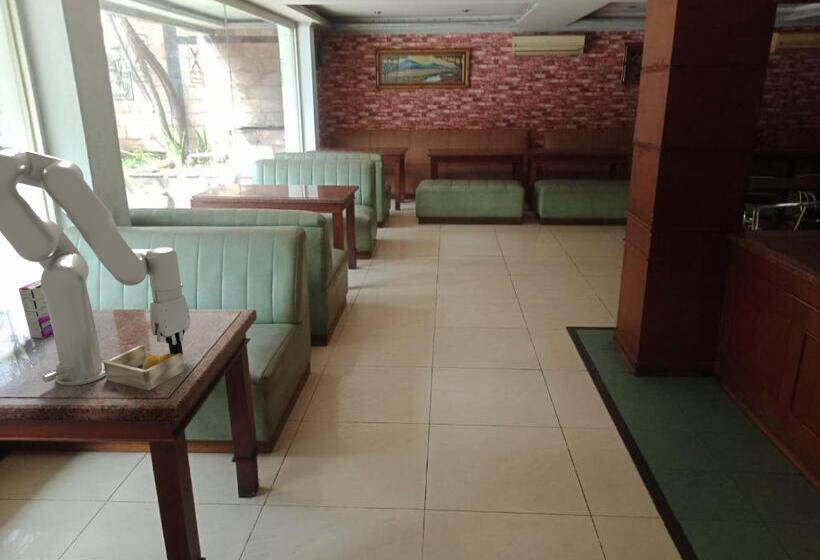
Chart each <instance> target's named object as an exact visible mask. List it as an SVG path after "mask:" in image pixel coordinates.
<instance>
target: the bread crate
mask: <svg viewBox="0 0 820 560" xmlns="http://www.w3.org/2000/svg"><path fill="white" fill-rule="evenodd" d="M146 358H147V356H146V350H145V345H143V344H140V345H138V346H136V347H134V348H131V349H130V350H129V349H128V350H127V351H124V352H123V353H121V354H119V355H116V356H114V357H112V358H110V359H108V360H105V361H102V362H103V363H104V368H105V374H106V375H105V378H106V381H110V382H113V383H117V384H121V385H126V386H130V387H134V388H137V389H140V390H141V389H142V390H146V391H150V390H152V389H154V388H156V387H158V386H160V385H162V384H163V383H165V382H167V381H168V380H171V379H172V378H174V377H175V376H178V375H181V374H182V373H183V372H185V370H186V369H185V364H184V357H183V355H182V353H178V354H176V355H174V356H173V357H171V358H169V359H167V360H165V361H163V362H161V363H159V364H157V365H155V366H153V367H151V368H149V369H147V370H144V369H143V368H138V367H139V366H143V364H144V361H145V360H146Z"/></svg>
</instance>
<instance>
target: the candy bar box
mask: <svg viewBox="0 0 820 560" xmlns="http://www.w3.org/2000/svg"><path fill="white" fill-rule="evenodd" d="M18 292H19V295H20V299H21V304H22V308H23V312H24V315H25V319H26V324H27V327H28V332H29V336H30V338H31V339H46V338H47V337H50V336H51V335H54V334H53V329H52V325H51V321H50V316H49V312H48V308H47V305H46V301H45V298H44V295H43V292H42V288H41V279H39V280H37V281H34V282H31V283H30V284H27V285H24V286H21V287H20V288H18Z"/></svg>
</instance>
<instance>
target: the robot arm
mask: <svg viewBox="0 0 820 560" xmlns="http://www.w3.org/2000/svg"><path fill="white" fill-rule="evenodd" d="M18 184H23V185H26V186H27V185H28V186H29V187H36V188H40V189H43V190H44V191H45V192H46V193H47V195H48V196H49V197H50V199H52V200H53V202H54V203H55V204H56V206H57V207H58V208H59V209H60V211H62V213H63V214H64V215H65V216H66V217H67V219H68V220H69V221H70V222H71V223H72V224H73V226H74V227H75V228H76V229H77V230H78V231H79V233H80V235H81V236H82V238H83V240H84V241H85V242H86V243H87V245H88V247H90V250H92V252H93V253H94V256H96V257H97V259H98V261H99V262H100V263H101V264H102V265H103V266H104V267H105V269H106V270H107V271H108V272H109V273H110V274H111V276H113V278H114V279H115V280H116V281H117V282H119V283H120V284H122V285H124V286H128V287H129V286H131V287H132V286H136V285H139V284H141V283H142V282H143V281H144V280H145V279H146V277H147V275H148V277H149V281H150V282H149V283H150V289H151V290H150V291H151V294H152V300H151V301H150V305H149V306H150V308H149V309H150V310H149V316H150V317H149V318H150V328H151V334H152V336H156V343H157V342H158V343H165V344H168V348H169V350H168V351H169V354H174V355H176V354H178V353H182V356H183V355H184V352H183V343H182V342H183V341H184V334H185V333H186V332H187V331H189V329H190V325H191V317H190V311H189V307H188V303H187V300H186V297H185V294H184V293H183V290H182V289H183V288H184V284H182V282H181V274H180V268H179V259H178V254H177V250H176V249H174V248H173V247H168V246H163V247H155V248H152V249H150V248H149V249H146V248H145V249H142V248H141V249H140V248H138V249H137V248H131V247H130V246H129V244H128V243H127V241H126V240H125V239H124V238H123V236H122V234H121V233H120V230H119V228H118V227H117V224H116V221H115V219H114V216H113V215H112V213H111V211H110V210H109V209H108V208H107V206H106V205H105V204H104V203H103V202H102V199H100V198H99V197H98V196H97V194H96V193H95V192H94V190H93V189H92V188H91V186H90V185H89V184H88V182H87V181H86V180H85V177H84V173H83V170H82V169H81V168H80V166H78V165H77V164H76V163H74V162H72V161H70V160H67V159H62V158H58V157H55V156H51V155H48V154H47V155H46V154H42V153H39V152H34V151H32V150H31V151H30V150H26V149H23V148H20V147H19V148H18V147H14V146H13V147H12V146H6V147H0V233H1V235H3V237H4V238H5V239H6V241H7V242H8V243H9V245H11V247H12V248H13V249H14V250H15V252H16V254H18V255H19V257H21V258H22V259H24V260H26V261H27V262H33V263H38V264H39V265H40V266H41V267H42V269H43V271H42V274H41V278H40V280H41V288H42V292H43V295H44V298H45V301H46V305H47V308H48V312H49V316H50V321H51V325H52V329H53V334H52V335H53V338H54V342H55V346H56V347H55V348H56V351H57V357H58V362H59V363H58V364H56V365H55V368H56V369H54V370H53V372H49V373H46V374H45V375H43V376H42V380H43V382H44V383H50V382H52V381H55V382H56V383H58V384H59V385H61V386H81V385H85V384H90V383H93V382H96V381H98V380H100V379H103V378H104V377H106V374H105V368H104V363H103V362H104V361H103V360H102V354H101V349H100V344H99V339H98V334H97V329H96V324H95V319H94V317H95V316H94V313H93V309H92V307H93V306H92V304H91V299H90V296H89V295H90V294H89V291H88V286H87V284H88V283H87V279H88V276H89V271H90V269H89V264H88V262H87V261H86V259H85V257H84V255H82V253H81V252H80V251H79V249H78V248H77V247H76V245H74V243H73V242H72V241H71V240H70V238H69V236H68V235H67V234H66V233H65V232H64V231H63V229H62V228H61V226H59V224H57V223H56V222H55V221H53V220H51V219H50V218H45V217H40V216H38V214H37V212H35V211H34V210H33V209H32V207H31V204H29V203H28V201H26V199H24V197H23V196H22V195H21V194H20V193H19V191H18V190H17V185H18Z"/></svg>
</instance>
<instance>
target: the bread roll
mask: <svg viewBox="0 0 820 560" xmlns="http://www.w3.org/2000/svg"><path fill="white" fill-rule="evenodd" d="M173 356H174V354H170V353H164V354H161V355H158V354H152V355H149V356H146V360H145V361H144V364H142V369H144V370H147V369H149V368H151V367H153V366H155V365H157V364H159V363H161V362H163V361H165V360H167V359H169V358H171V357H173Z"/></svg>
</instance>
